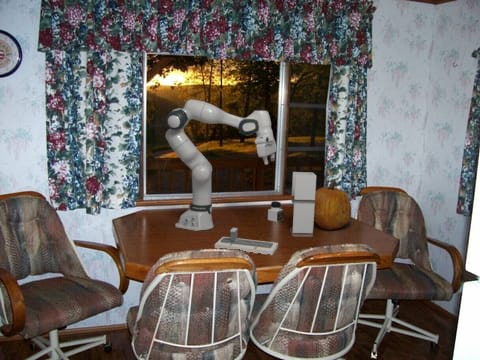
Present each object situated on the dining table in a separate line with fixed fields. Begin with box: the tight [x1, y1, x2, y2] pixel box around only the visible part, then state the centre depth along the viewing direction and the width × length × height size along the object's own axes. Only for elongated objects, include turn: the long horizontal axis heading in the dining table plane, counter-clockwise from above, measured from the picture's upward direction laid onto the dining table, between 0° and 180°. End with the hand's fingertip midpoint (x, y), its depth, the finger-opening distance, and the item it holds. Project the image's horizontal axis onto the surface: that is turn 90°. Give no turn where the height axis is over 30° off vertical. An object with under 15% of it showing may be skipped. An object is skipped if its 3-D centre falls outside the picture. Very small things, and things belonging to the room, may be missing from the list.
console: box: [214, 236, 279, 256], centre depth 231 cm, size 30×14×3 cm, turn 74°
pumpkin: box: [314, 178, 352, 231], centre depth 271 cm, size 26×23×30 cm
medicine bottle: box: [267, 200, 284, 223], centre depth 286 cm, size 7×7×12 cm
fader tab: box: [229, 227, 239, 242], centre depth 233 cm, size 4×5×7 cm
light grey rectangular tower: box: [289, 171, 317, 238], centre depth 256 cm, size 11×11×35 cm
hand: (269, 162), depth 252 cm, fingers open, 8 cm apart
